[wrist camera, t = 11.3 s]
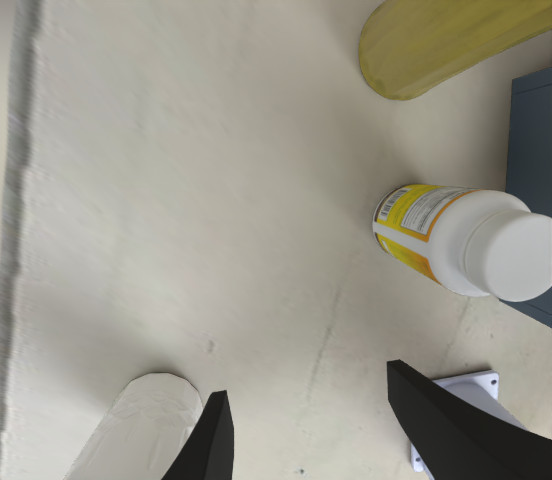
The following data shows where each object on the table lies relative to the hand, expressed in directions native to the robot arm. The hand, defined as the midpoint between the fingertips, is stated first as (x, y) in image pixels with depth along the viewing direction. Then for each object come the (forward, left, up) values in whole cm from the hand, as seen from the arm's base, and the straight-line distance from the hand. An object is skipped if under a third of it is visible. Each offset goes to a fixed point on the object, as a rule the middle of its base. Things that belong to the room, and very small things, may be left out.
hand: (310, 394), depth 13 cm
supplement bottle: (+5, -10, -11) cm, 15 cm away
